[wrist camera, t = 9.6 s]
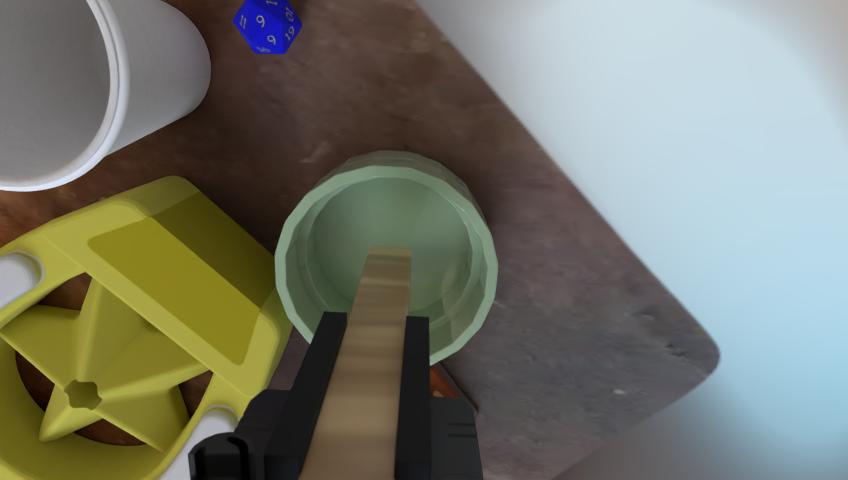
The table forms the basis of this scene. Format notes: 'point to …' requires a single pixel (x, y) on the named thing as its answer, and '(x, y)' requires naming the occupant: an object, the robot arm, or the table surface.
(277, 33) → the die
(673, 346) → the table surface
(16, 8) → the dixie cup
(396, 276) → the stick
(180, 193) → the toy steering wheel
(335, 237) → the bowl
